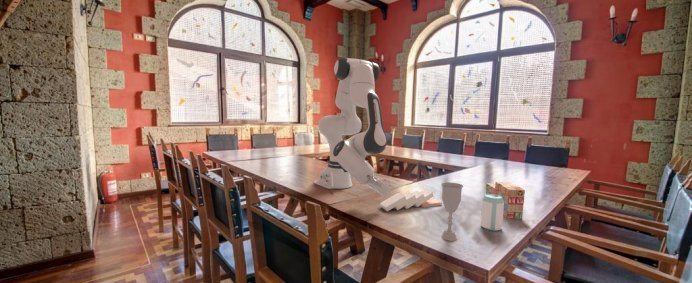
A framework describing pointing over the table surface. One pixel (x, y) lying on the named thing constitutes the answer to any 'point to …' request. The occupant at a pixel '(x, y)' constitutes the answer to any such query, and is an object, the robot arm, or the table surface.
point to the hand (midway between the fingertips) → (384, 194)
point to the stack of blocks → (509, 198)
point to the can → (492, 212)
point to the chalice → (451, 206)
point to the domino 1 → (393, 201)
